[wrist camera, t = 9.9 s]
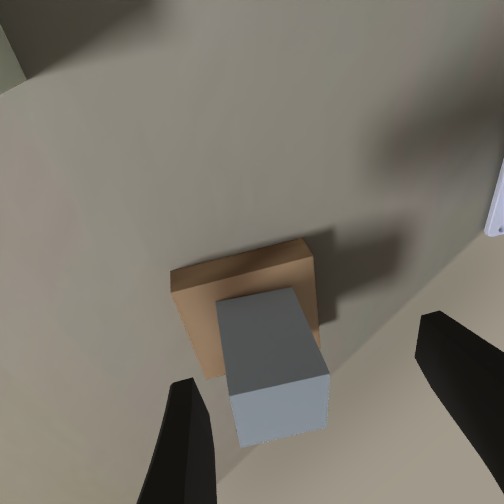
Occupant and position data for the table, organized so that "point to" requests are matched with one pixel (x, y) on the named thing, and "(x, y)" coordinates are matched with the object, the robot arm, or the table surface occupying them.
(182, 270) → the walnut block
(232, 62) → the table surface
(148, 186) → the table surface
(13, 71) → the sage block
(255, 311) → the slate block
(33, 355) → the table surface
